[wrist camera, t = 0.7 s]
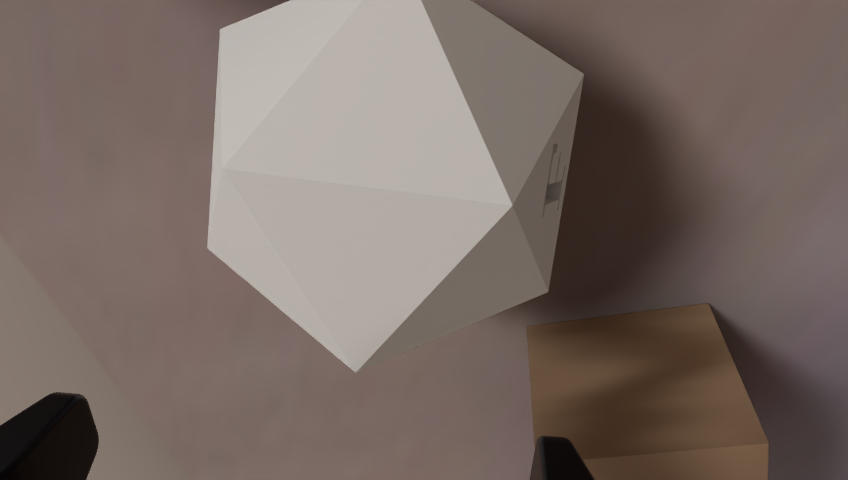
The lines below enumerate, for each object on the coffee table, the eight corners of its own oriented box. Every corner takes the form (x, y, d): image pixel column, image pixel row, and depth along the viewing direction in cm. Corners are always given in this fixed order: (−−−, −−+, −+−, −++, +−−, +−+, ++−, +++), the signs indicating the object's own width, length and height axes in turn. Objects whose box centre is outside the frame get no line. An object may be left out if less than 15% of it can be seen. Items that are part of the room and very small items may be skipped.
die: (426, 272, 24) (644, 397, 16) (151, 280, 19) (248, 461, 11) (458, 16, 22) (724, 0, 14) (164, -40, 18) (291, -117, 9)
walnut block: (707, 301, 23) (768, 442, 18) (711, 427, 26) (764, 579, 21) (526, 324, 24) (535, 463, 19) (550, 443, 27) (563, 590, 22)
